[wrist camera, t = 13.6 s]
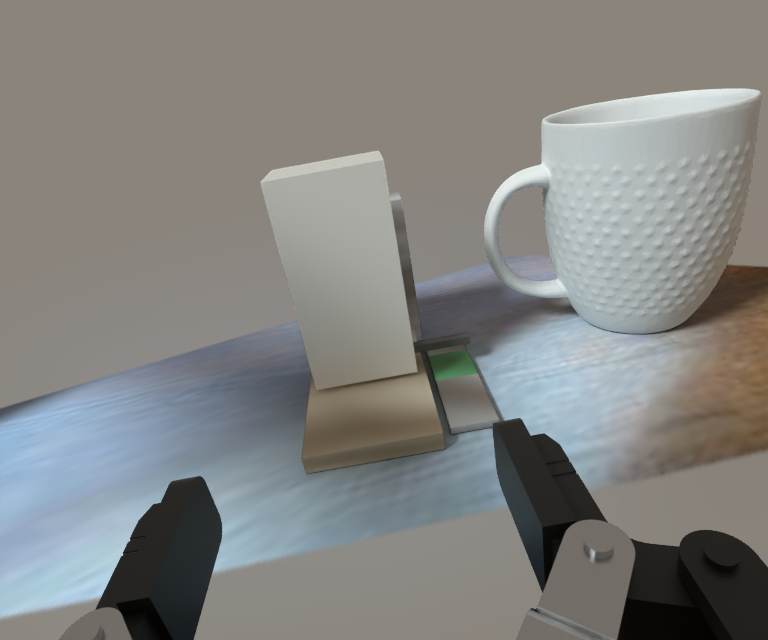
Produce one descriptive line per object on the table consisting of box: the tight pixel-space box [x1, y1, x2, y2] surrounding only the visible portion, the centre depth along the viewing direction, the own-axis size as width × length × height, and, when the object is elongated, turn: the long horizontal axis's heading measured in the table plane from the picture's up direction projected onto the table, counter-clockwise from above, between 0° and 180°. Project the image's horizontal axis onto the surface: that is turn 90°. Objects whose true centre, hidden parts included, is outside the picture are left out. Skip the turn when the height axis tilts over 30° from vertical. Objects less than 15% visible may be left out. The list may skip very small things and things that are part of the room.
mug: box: [484, 89, 762, 334], centre depth 31 cm, size 15×11×13 cm
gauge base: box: [302, 192, 499, 474], centre depth 29 cm, size 14×10×10 cm
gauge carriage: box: [260, 151, 470, 390], centre depth 28 cm, size 4×10×12 cm, turn 94°
